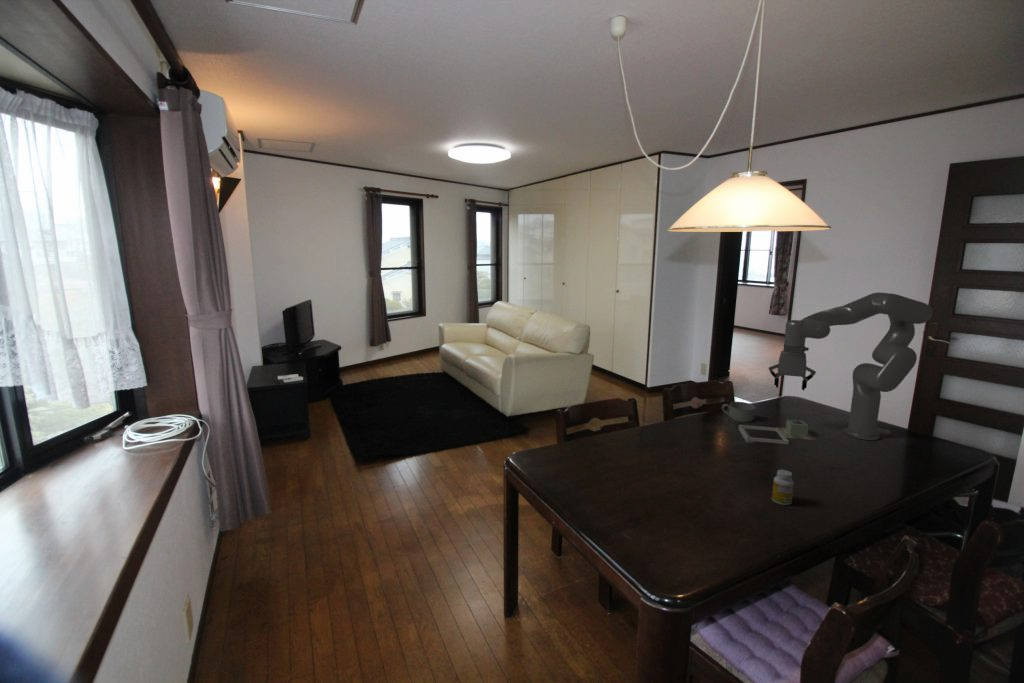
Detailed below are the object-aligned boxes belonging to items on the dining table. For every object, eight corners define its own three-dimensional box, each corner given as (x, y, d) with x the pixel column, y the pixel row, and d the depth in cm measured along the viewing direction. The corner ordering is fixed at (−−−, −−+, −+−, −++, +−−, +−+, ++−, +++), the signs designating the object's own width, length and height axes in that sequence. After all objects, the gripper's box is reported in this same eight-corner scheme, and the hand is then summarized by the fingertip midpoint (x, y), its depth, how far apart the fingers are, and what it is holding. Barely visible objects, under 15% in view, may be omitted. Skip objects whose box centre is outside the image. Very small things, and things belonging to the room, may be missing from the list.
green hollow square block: (801, 431, 197) (803, 420, 197) (807, 436, 191) (808, 425, 190) (785, 430, 199) (786, 419, 198) (790, 435, 193) (791, 424, 192)
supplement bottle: (773, 494, 146) (776, 466, 144) (792, 500, 143) (796, 471, 141) (770, 501, 142) (773, 472, 140) (789, 507, 139) (793, 478, 137)
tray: (777, 432, 199) (777, 427, 198) (788, 446, 184) (789, 441, 184) (738, 429, 203) (739, 424, 202) (746, 442, 188) (747, 437, 188)
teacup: (754, 420, 215) (756, 403, 214) (752, 427, 206) (754, 410, 204) (722, 414, 222) (724, 399, 221) (719, 421, 213) (720, 405, 212)
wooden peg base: (806, 432, 200) (808, 418, 198) (816, 442, 188) (818, 427, 187) (776, 429, 203) (777, 415, 202) (784, 439, 191) (786, 424, 190)
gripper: (816, 349, 191) (812, 388, 194) (770, 346, 199) (766, 383, 202) (819, 352, 184) (814, 393, 187) (770, 349, 192) (767, 388, 195)
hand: (789, 388), depth 194 cm, fingers open, 9 cm apart
